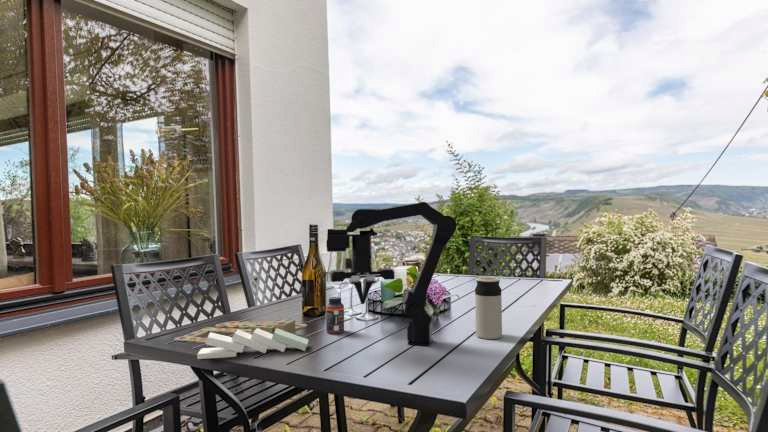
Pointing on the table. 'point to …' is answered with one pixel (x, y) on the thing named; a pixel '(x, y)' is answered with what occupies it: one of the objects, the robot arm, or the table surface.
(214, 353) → the domino
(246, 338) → the domino
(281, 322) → the pile of dominoes
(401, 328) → the table surface
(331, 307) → the supplement bottle
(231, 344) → the domino
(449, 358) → the table surface
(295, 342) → the domino
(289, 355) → the table surface
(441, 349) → the table surface
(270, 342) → the domino
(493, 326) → the travel mug
